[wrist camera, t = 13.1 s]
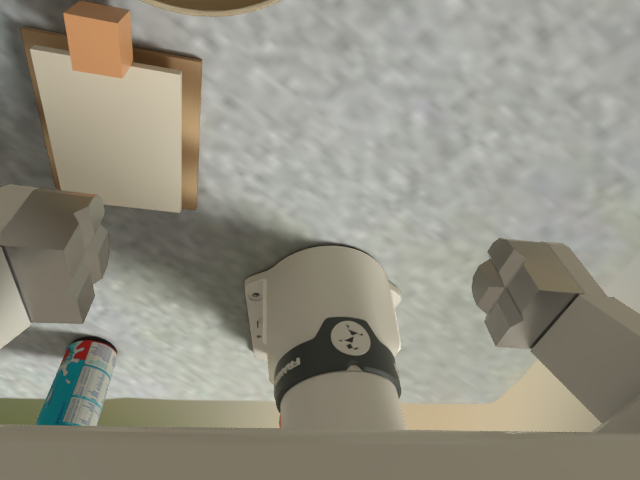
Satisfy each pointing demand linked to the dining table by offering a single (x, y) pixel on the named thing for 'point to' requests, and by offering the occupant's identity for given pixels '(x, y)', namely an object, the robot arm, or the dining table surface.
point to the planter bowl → (211, 6)
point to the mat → (186, 64)
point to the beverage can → (80, 384)
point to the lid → (111, 113)
